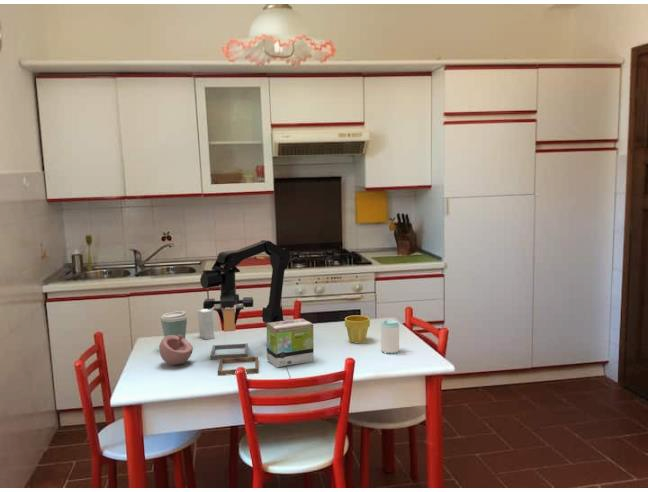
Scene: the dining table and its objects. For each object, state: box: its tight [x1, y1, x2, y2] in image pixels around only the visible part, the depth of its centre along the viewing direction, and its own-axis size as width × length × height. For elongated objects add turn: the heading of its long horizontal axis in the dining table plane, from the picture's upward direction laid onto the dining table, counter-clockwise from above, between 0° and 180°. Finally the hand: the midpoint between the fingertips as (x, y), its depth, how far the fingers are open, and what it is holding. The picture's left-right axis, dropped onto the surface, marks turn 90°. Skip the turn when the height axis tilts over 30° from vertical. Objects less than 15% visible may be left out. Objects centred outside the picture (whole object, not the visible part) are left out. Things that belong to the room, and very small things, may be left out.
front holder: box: [217, 356, 259, 376], centre depth 210 cm, size 14×14×2 cm
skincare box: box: [197, 309, 215, 340], centre depth 249 cm, size 6×4×12 cm
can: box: [380, 319, 400, 354], centre depth 224 cm, size 7×7×12 cm
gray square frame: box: [209, 343, 249, 361], centre depth 227 cm, size 14×14×2 cm
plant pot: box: [344, 314, 371, 343], centre depth 239 cm, size 10×10×10 cm
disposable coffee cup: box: [160, 310, 188, 339], centre depth 233 cm, size 11×11×15 cm
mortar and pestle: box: [158, 334, 194, 366], centre depth 214 cm, size 12×12×12 cm
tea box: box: [266, 318, 314, 368], centre depth 215 cm, size 15×10×15 cm
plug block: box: [223, 307, 236, 333], centre depth 223 cm, size 4×4×8 cm
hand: (229, 324), depth 223 cm, fingers closed on plug block, 4 cm apart
